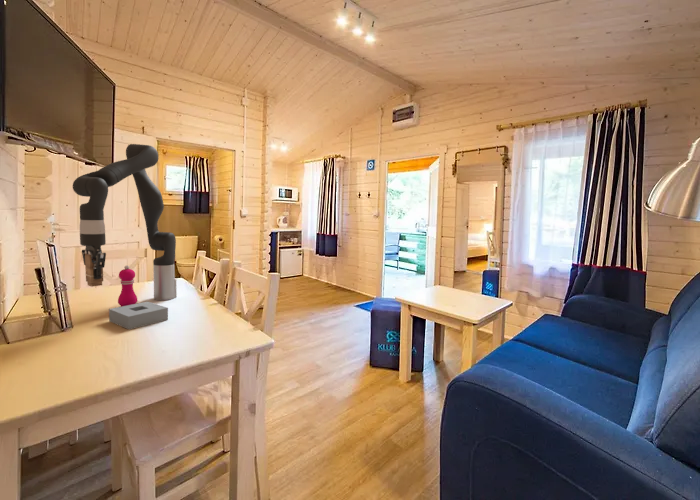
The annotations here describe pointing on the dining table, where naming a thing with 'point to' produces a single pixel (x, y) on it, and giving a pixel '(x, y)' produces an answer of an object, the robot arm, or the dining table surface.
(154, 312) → the socket board
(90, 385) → the dining table surface
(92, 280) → the walnut peg
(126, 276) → the pepper mill
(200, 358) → the dining table surface
